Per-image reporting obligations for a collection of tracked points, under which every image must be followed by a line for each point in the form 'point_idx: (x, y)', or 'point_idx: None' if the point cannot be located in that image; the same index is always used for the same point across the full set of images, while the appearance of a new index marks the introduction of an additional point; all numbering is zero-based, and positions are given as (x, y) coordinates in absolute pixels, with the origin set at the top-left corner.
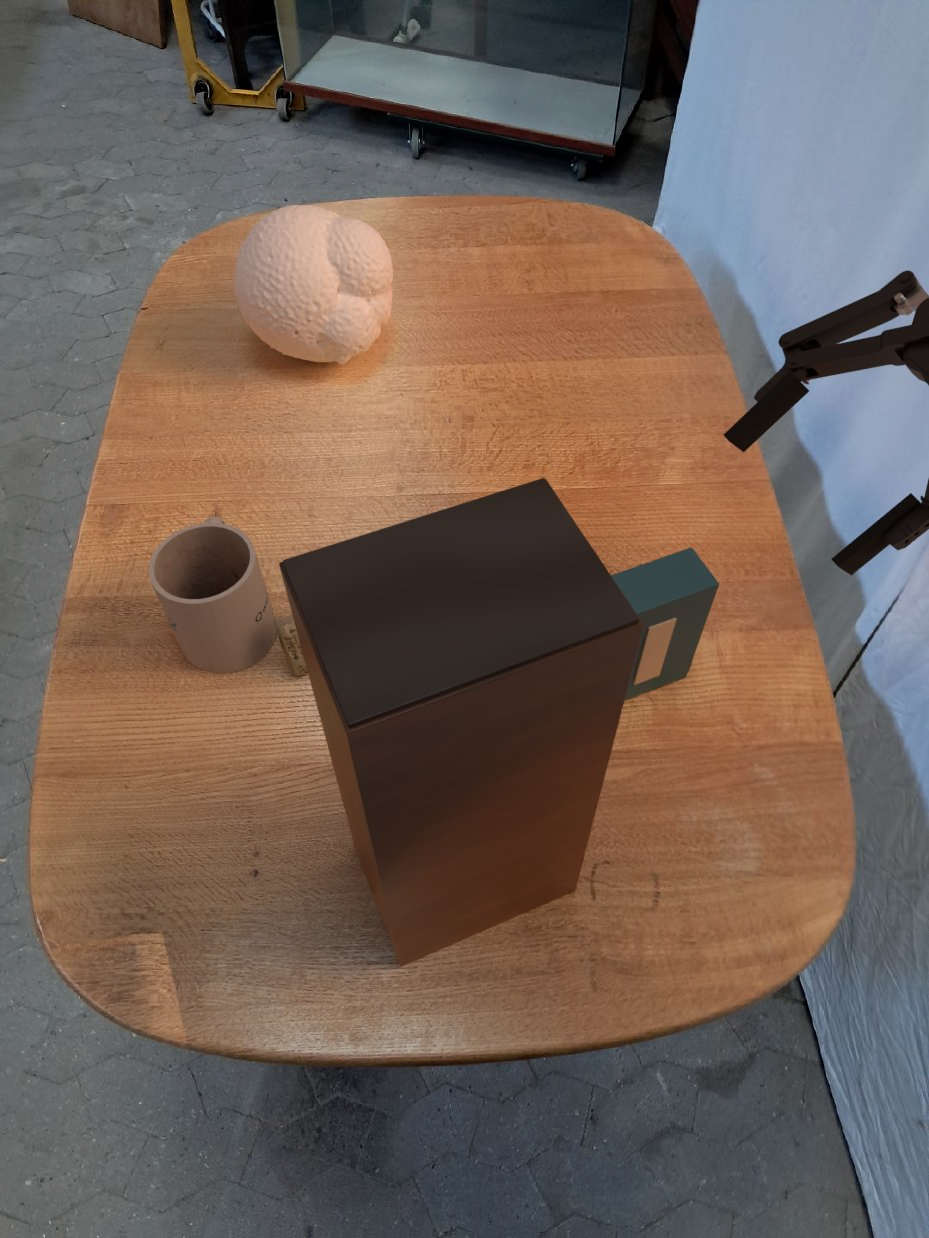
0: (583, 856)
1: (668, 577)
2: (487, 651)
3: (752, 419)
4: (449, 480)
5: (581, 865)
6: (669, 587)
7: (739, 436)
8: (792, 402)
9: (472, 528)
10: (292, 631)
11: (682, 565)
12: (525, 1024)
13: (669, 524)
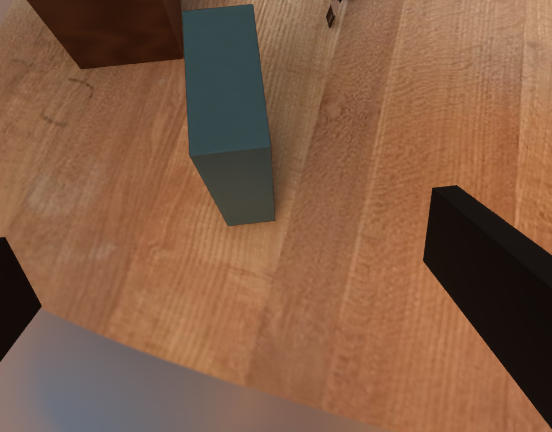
0: (34, 9)
1: (226, 94)
2: None
3: (475, 228)
4: (541, 89)
5: (47, 26)
6: (208, 88)
7: (442, 216)
8: (534, 384)
9: None
10: None
11: (240, 120)
12: (16, 17)
13: (439, 298)
